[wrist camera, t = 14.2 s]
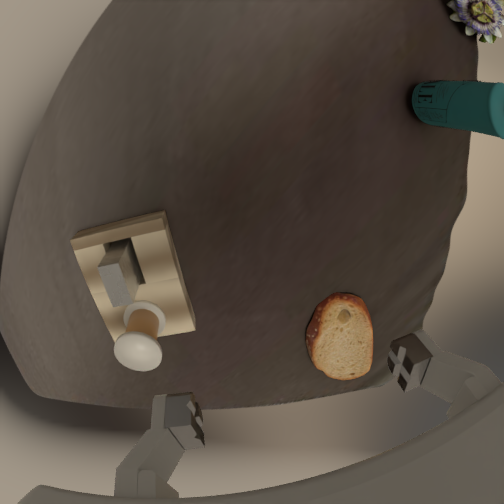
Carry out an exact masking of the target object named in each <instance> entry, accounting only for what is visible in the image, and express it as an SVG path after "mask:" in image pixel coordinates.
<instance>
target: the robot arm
mask: <svg viewBox="0 0 504 504" xmlns="http://www.w3.org/2000/svg"><path fill="white" fill-rule="evenodd" d="M390 348H391V352H390V353H389V354H388V358H387V362H388V367H389V370H390V371H391V373H392V375H395V376H397V377H398V380H397V382H398V384H399V385H400V386H401V388H402V390H403V391H404V392H407V391H409V390H411V389H414V388H416V387H418V386H421V387H422V388H424V389H426V390H427V391H429V392H431V393H433V394H435V395H437V396H438V397H440V398H442V399H444V400H446V401H447V402H449V403H451V404H452V405H451V407H450V408H449V410H448V412H447V416H448V418H449V419H448V420H447V421H445V422H443V423H441V424H440V425H438V426H436V427H434V428H432V429H431V430H429V431H427V432H425V433H423V434H421V435H419V436H417V437H416V438H413V439H411V440H409V441H407V442H405V443H403V444H401V445H399V446H397V447H394V448H392V449H390V450H388V451H385V452H383V453H381V454H378V455H376V456H374V457H371V458H368V459H366V460H363V461H361V462H358V463H355V464H352V465H350V466H347V467H344V468H341V469H338V470H335V471H332V472H328V473H326V474H322V475H318V476H315V477H311V478H308V479H304V480H301V481H296V482H293V483H288V484H284V485H279V486H275V487H270V488H265V489H259V490H253V491H247V492H241V493H234V494H226V495H217V496H207V497H193V498H192V497H191V498H179V494H178V492H177V491H176V490H175V489H173V488H172V487H171V486H170V485H169V484H167V481H168V480H169V478H170V476H171V475H172V473H173V471H174V469H175V467H176V466H177V464H178V462H179V460H180V458H181V457H182V455H183V453H184V450H187V449H195V448H203V447H205V440H204V433H203V431H202V429H201V427H202V425H203V417H202V412H201V409H200V406H199V404H198V403H197V402H195V396H194V394H193V392H185V393H176V394H166V395H156V396H154V398H153V407H152V420H151V429H150V430H147V431H146V432H145V433H144V435H143V436H142V437H141V439H140V440H139V441H138V442H137V444H136V445H135V446H134V448H133V449H132V450H131V451H130V452H129V454H128V455H127V456H126V458H125V459H124V460H123V461H122V462H121V464H120V465H119V466H118V467H117V469H116V478H115V490H114V496H105V495H96V494H88V493H82V492H75V491H70V490H64V489H59V488H54V487H50V486H46V485H39V486H37V487H35V488H34V489H32V490H31V491H30V492H29V493H28V494H27V495H26V496H25V497H24V498H23V499H21V500H20V501H19V502H18V504H504V382H503V383H501V382H500V381H499V379H498V378H497V377H496V376H495V375H494V374H493V372H492V371H491V370H490V369H489V368H488V367H487V366H486V365H483V364H481V363H478V362H475V361H472V360H469V359H467V358H464V357H461V356H458V355H455V354H453V353H450V352H447V351H444V352H443V351H442V350H441V349H440V348H439V347H438V346H437V345H436V343H435V342H434V341H433V340H432V339H431V338H430V337H429V335H428V334H427V333H426V332H425V331H424V330H422V329H421V330H418V331H416V332H413V333H410V334H408V335H405V336H403V337H400V338H398V339H395V340H393V341H392V342H391V344H390Z"/></svg>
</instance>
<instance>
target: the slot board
mask: <svg viewBox="0 0 504 504" xmlns="http://www.w3.org/2000/svg"><path fill="white" fill-rule="evenodd" d="M130 237H131V240H132V243H133V246H134V249H135V252H136V255H137V258H138V261H139V264H140V267H141V270H142V273H143V275H142V278H141V281H140V284H139V287H138V290H137V294H136V297H135V300H134V301H137V300H147V301H151V302H153V303H155V304H157V305H158V306H159V307H160V308H161V309H162V310H163V311H164V313H165V316H166V324H165V328H164V330H163V331H162V333H160V334H159V335H158V336H157V337H160V336H166V335H172V334H178V333H184V332H190V331H195V315H194V312H193V308H192V305H191V302H190V299H189V295H188V292H187V289H186V285H185V282H184V278H183V275H182V272H181V268H180V265H179V261H178V257H177V254H176V250H175V246H174V243H173V239H172V235H171V231H170V227H169V224H168V220H167V216H166V212H165V210H162V211H158V212H154V213H149V214H145V215H141V216H137V217H132V218H128V219H124V220H120V221H116V222H112V223H108V224H104V225H100V226H96V227H93V228H89V229H85V230H81V231H78V232H77V234H76V235H75V236H74V237H73V238H72V239H71V240H70V242H71V244H72V247H73V250H74V252H75V255H76V258H77V260H78V263H79V265H80V268H81V270H82V273H83V275H84V278H85V280H86V282H87V285H88V287H89V289H90V292H91V294H92V296H93V298H94V301H95V303H96V305H97V307H98V309H99V311H100V313H101V315H102V318H103V320H104V322H105V324H106V326H107V328H108V330H109V332H110V334H111V336H112V337H113V339H114V341H115V342H116V340H117V338H118V337H119V336H120V335H121V334H123V333H125V332H126V328H127V327H126V325H125V323H124V319H123V317H124V313H125V310H126V308H127V306H128V305H124V306H118V307H113V306H112V304H111V301H110V299H109V297H108V294H107V292H106V289H105V287H104V284H103V282H102V279H101V276H100V274H99V271H98V268H97V267H98V265H99V263H100V262H101V260H102V258H103V257H104V255H105V254H106V252H107V250H108V249H109V247H110V246H111V244H112V242H113V241H117V240H121V239H125V238H130Z"/></svg>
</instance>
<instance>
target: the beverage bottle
mask: <svg viewBox="0 0 504 504" xmlns="http://www.w3.org/2000/svg"><path fill="white" fill-rule="evenodd" d="M431 81H433V80H431ZM431 81H430V82H422V83H420V84H419V85H417V86H416V87H415V89H414V91H413V94H412V105H413V109H414V111H415V113H416V115H417V117H418V118H419V119H420V120H421V121H423V122H424V123H426V124H429V125H436V126H435V127H437V126H439V127H440V126H441V127H442V126H443V127H442V128H444V127H449V128H456V129H455V130H457V129H458V130H459V129H462V130H463V131H466V130H469V131H473V132H478V133H483V134H487V135H492V136H496V137H500V138H502V139H504V84H503V83H499V82H498V83H487V82H481V81H478V80H477V82H471V81H472V80H468V81H464V80H463V81H455V80H454V81H443V80H437V81H435V82H431ZM473 81H474V80H473ZM475 81H476V80H475ZM449 128H448V129H449Z"/></svg>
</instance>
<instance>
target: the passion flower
mask: <svg viewBox="0 0 504 504" xmlns="http://www.w3.org/2000/svg"><path fill="white" fill-rule="evenodd" d="M446 5H447V6H448V7H450V8H452V10H453V13H452V14H451V15H450V16H449V18H450V19H451V20H453V21H458V22H463V23H464V24H465V25H466V27H465V33H466V35H473V34H475V33H478V34H482V36H481V37H480V39H479V41H481V42H488V43H489V44H492V43H494V41H495V40H496V37H498V38H502V34H501V31H500V28H499V24H501V25H503V26H504V16H503V15H501V14H500V13H501V12H499V11H498V10H502V7H503V6H504V0H451V1H449V2H448V3H447V4H446Z"/></svg>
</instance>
